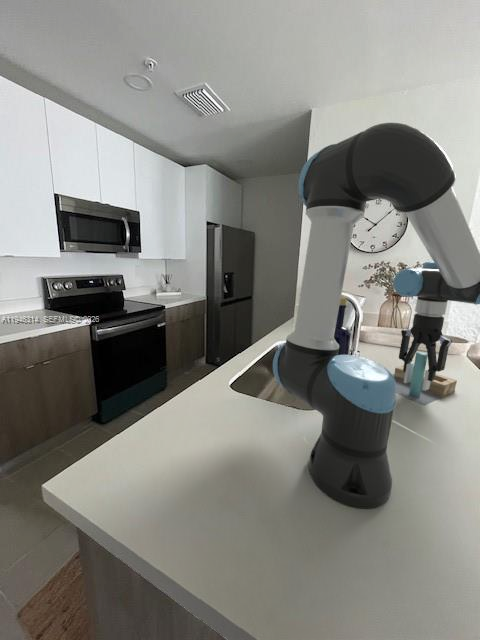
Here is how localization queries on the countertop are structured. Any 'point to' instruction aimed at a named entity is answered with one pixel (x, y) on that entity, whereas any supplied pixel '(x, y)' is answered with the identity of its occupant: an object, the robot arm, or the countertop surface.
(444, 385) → the block
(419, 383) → the peg
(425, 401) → the mat
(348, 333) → the bottle
